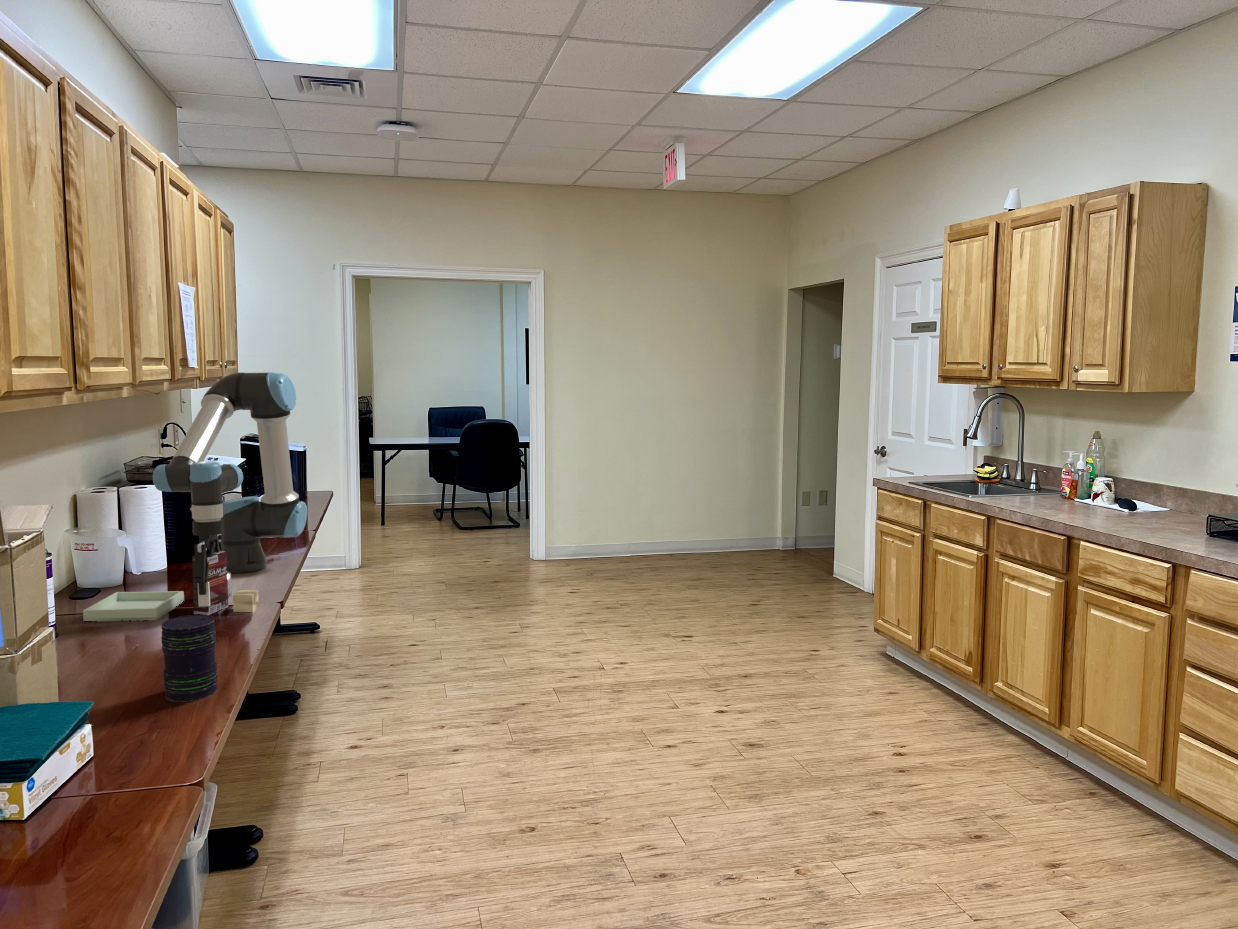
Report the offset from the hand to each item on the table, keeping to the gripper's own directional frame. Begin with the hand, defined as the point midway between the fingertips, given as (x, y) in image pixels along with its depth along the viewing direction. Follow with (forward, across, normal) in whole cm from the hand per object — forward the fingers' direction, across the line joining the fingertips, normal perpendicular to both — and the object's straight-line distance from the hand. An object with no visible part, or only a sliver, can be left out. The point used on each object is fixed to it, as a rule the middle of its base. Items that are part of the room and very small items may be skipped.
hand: (211, 600), depth 231 cm
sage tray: (+3, -1, -20) cm, 20 cm away
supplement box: (+3, 0, 0) cm, 3 cm away
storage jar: (+3, +60, +17) cm, 62 cm away
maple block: (+3, 0, +9) cm, 9 cm away
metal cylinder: (+3, -14, -2) cm, 14 cm away
